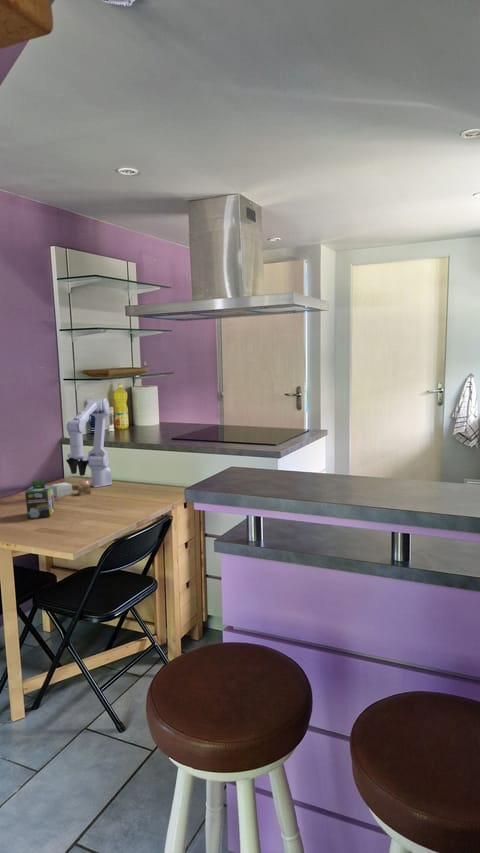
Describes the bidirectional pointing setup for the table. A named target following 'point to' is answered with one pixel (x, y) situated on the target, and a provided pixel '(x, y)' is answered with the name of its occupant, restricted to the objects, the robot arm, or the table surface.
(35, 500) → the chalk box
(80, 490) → the walnut block
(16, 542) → the table surface
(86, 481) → the peach capsule cylinder
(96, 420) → the robot arm
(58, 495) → the small box
